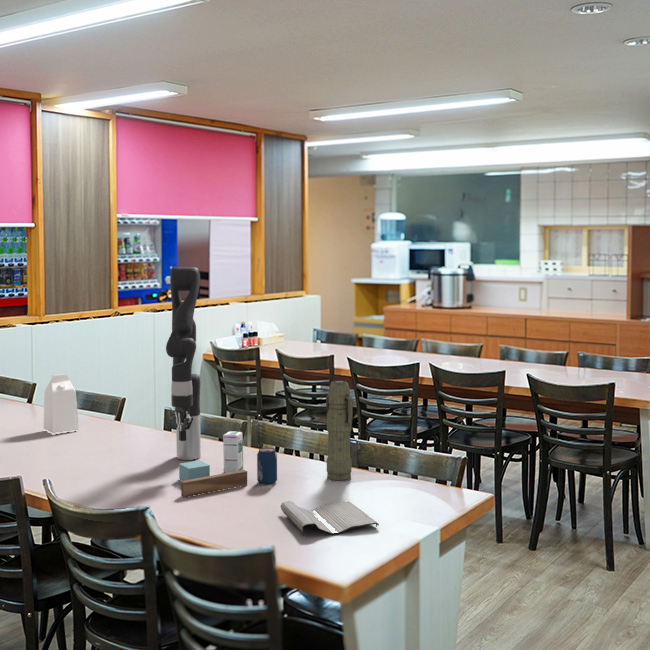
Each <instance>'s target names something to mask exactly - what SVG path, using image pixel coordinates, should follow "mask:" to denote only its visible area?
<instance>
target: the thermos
mask: <svg viewBox="0 0 650 650" xmlns="http://www.w3.org/2000/svg"><path fill="white" fill-rule="evenodd" d="M325 404H326V405H325V406H326V409H325V410H326V416H325V419H326V431H327V435H328V436H327V437H328V438H327V439H328V440H327V453H328V454H327V455H328V456H327V458H326V475H327V476H326V479H327V480H329V481H330V480H331V482H336V481H342V482H347V481H346V480H348V481H350V480H351V479H352V467H353V466H352V465H353V462H352V458H351V432H352V426H353V418H354V416H353V415H354V413H353V412H354V411H353V407H354V406H353V405H354V404H353V398H352V396H351V388H350V385H349V383H348V382H347V381H346V380H338V379H337V380H333V381H331V382H330V384H329V388H328V393H327V395H326V397H325ZM349 479H350V480H349Z"/></svg>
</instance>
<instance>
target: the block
mask: <svg viewBox="0 0 650 650" xmlns="http://www.w3.org/2000/svg"><path fill="white" fill-rule="evenodd" d="M210 466H211V465H210V464H208V463H206V462H204V461H201V460H195V461H194V460H192V461H187V462H182V463H178V469H179V471H178V472H179V474H178V476H179V479H180V480H179V479H178V480H179V481H181V480H182V481H186V480H191V479H196V478H202V477H207V476H211V474H210V470H211V469H210Z"/></svg>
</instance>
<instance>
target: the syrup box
mask: <svg viewBox="0 0 650 650" xmlns="http://www.w3.org/2000/svg"><path fill="white" fill-rule="evenodd" d="M222 438H223V439H222V441H223V473H229V472H234V471H239V470H244V450H243V449H244V446H243V443H244V441H243V439H244V438H243V432H242V431H234V430H233V431H227V432H226V433H224V434H223V435H222Z"/></svg>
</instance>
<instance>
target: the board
mask: <svg viewBox="0 0 650 650" xmlns="http://www.w3.org/2000/svg"><path fill="white" fill-rule="evenodd" d="M245 485H246V486H248V471H247V470H245V469H243V470H239V471H234V472H229V473H224V472H223V473H219V474H213V475H210V476H207V477H202V478H196V479H191V480H186V481H181V480H180V490H181V492H180V493H181V494H180V495H181V497H182V496H183V497H182V498H184V497H186V498H189V497H188V496H191V497H194V496H193V495H196V496H199V495H198V494H201V495H203V494H202V493H206V494H209V493H208V492H211V493H214V492H213V491H216V492H219V491H218V490H221V491H224V490H223V489H226V490H229V489H228V488H231V489H235V488H234V487H236V488H241V487H246V486H245ZM240 486H241V487H240Z"/></svg>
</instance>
